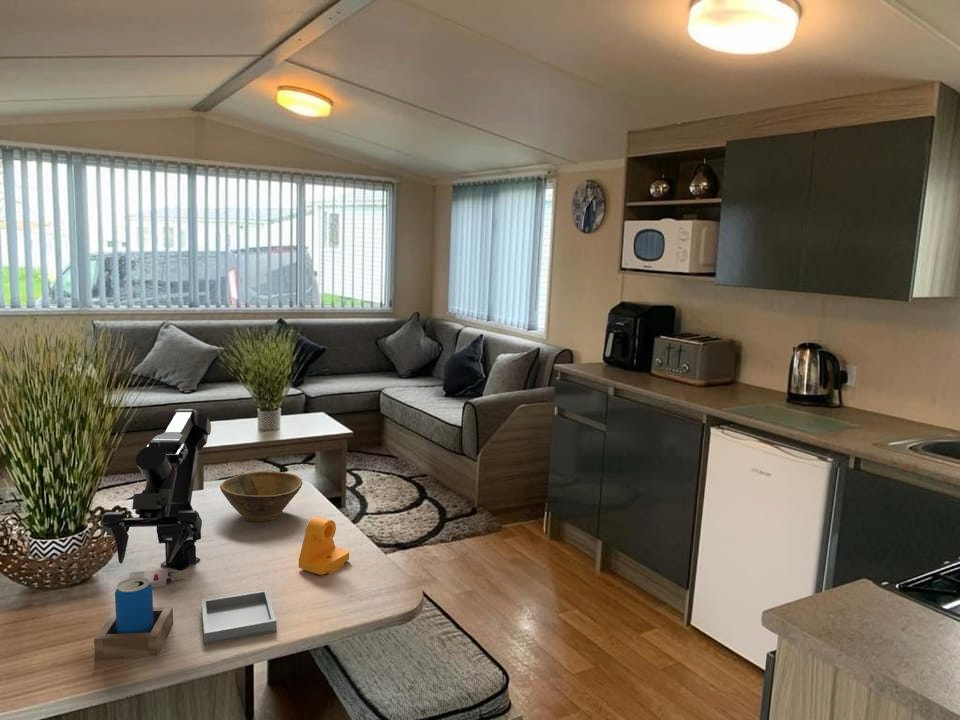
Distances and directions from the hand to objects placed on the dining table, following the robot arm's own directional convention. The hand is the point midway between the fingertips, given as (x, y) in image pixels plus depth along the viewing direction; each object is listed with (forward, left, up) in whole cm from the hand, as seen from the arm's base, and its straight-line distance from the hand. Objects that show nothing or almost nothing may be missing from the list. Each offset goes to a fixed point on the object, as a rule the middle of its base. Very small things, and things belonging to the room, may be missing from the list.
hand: (144, 562), depth 140 cm
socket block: (+3, -6, -13) cm, 15 cm away
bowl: (-16, +56, -13) cm, 60 cm away
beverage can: (+3, -6, -13) cm, 15 cm away
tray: (+16, +8, -13) cm, 22 cm away
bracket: (+18, +37, -13) cm, 43 cm away
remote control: (-13, +13, -14) cm, 23 cm away
